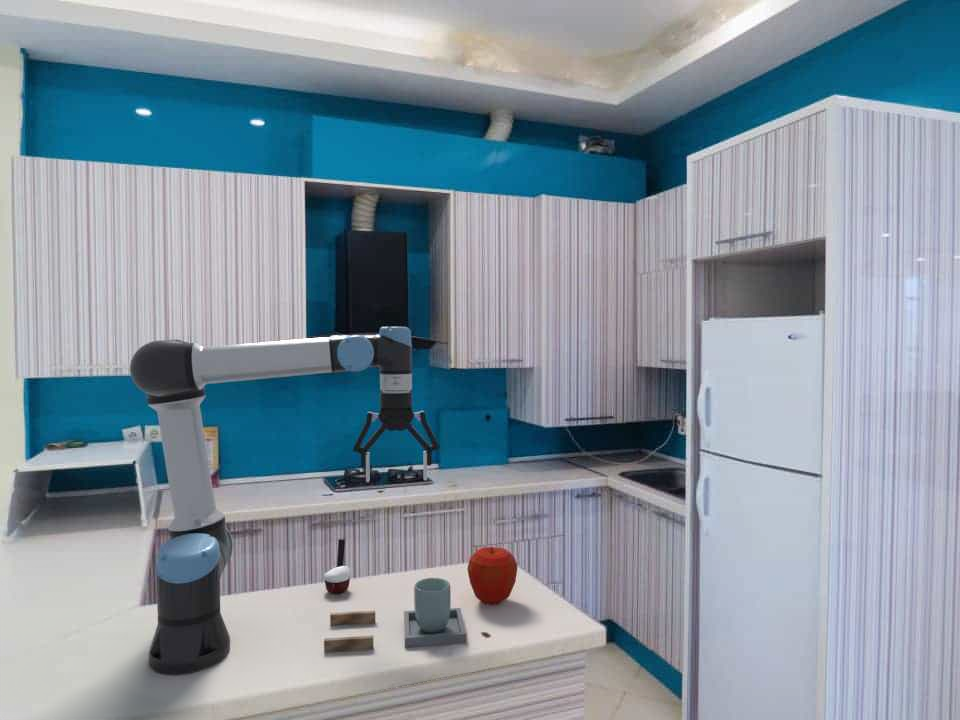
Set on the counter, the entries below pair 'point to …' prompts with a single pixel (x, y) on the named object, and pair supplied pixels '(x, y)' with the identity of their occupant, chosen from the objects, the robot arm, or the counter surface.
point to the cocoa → (338, 573)
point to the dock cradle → (447, 636)
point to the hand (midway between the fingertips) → (396, 480)
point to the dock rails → (350, 642)
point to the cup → (432, 604)
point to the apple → (492, 574)
